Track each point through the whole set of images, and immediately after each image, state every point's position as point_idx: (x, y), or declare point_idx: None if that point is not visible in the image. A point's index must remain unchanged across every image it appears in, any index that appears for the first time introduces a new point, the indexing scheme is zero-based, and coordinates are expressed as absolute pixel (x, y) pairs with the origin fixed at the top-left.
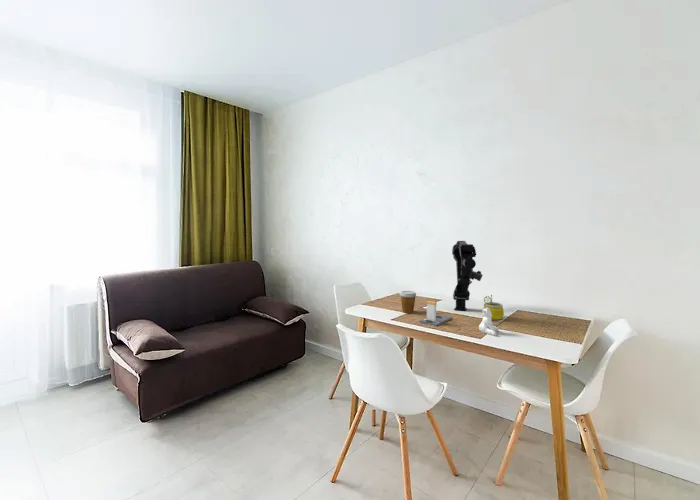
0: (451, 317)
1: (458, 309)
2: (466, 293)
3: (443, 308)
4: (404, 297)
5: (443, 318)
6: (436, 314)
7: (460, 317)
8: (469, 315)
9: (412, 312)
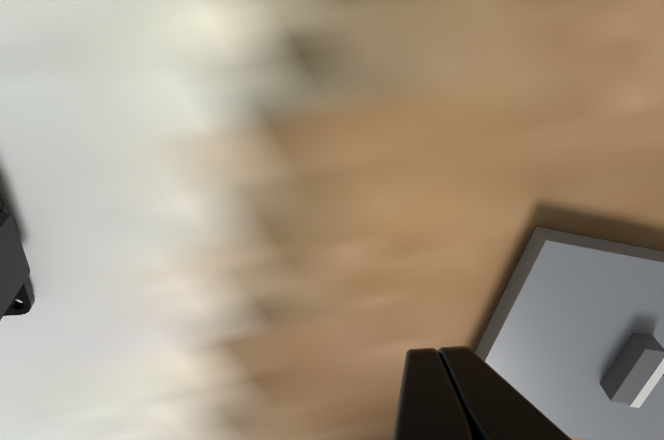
0: (563, 242)
1: (24, 256)
2: (482, 368)
3: (55, 421)
4: None
5: (649, 309)
6: None
7: (420, 141)
8: (225, 30)
9: None
